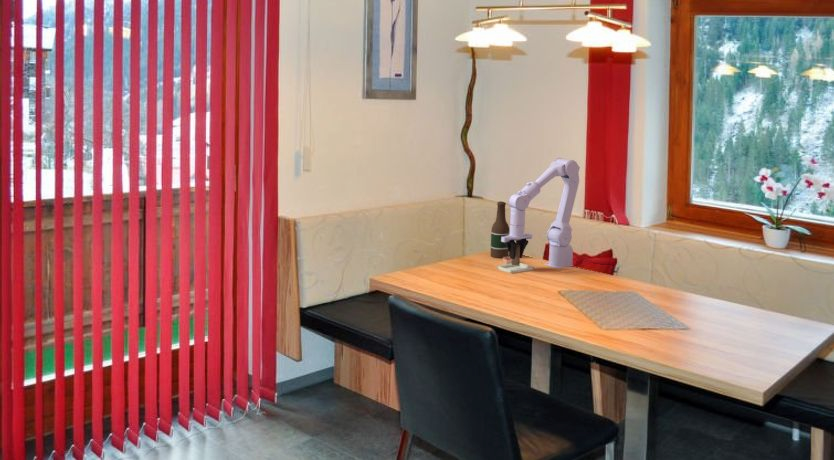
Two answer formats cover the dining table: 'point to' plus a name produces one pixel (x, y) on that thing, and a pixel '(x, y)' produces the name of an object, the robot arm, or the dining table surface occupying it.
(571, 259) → the robot arm
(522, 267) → the tray
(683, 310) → the dining table surface
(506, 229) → the beer bottle
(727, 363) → the dining table surface
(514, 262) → the peg
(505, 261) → the holder
